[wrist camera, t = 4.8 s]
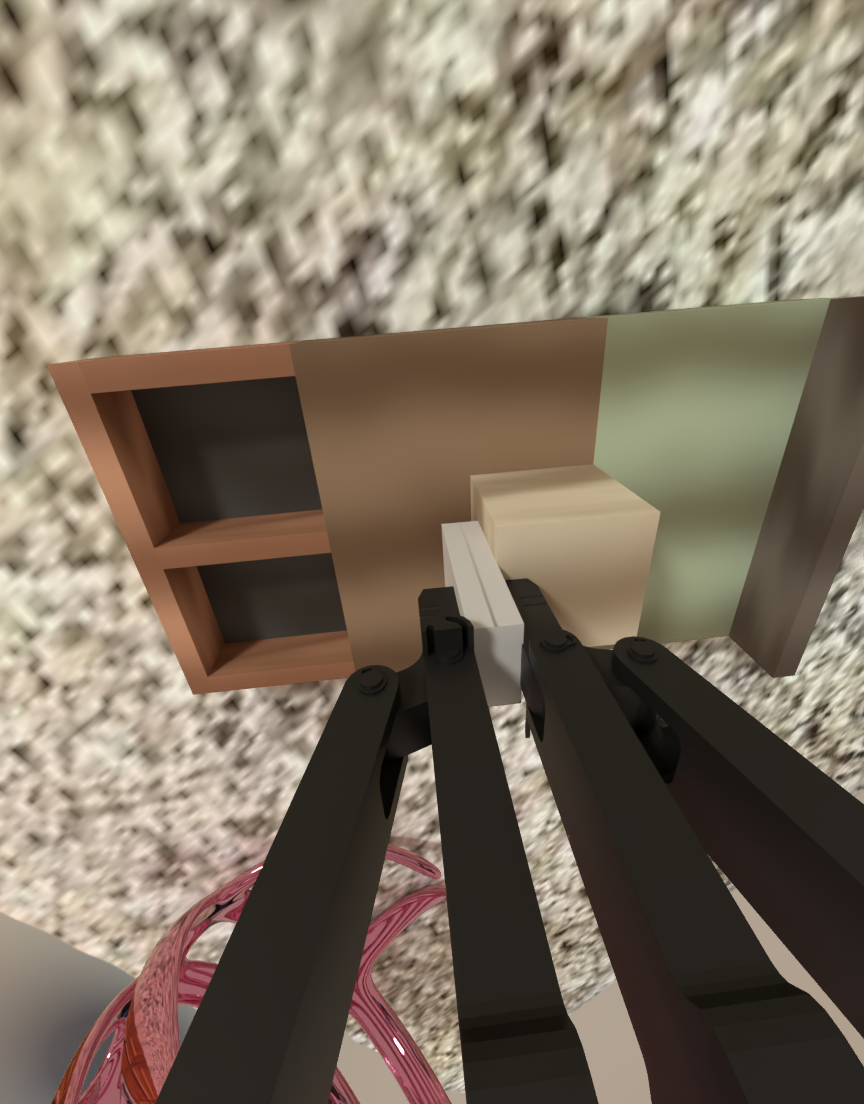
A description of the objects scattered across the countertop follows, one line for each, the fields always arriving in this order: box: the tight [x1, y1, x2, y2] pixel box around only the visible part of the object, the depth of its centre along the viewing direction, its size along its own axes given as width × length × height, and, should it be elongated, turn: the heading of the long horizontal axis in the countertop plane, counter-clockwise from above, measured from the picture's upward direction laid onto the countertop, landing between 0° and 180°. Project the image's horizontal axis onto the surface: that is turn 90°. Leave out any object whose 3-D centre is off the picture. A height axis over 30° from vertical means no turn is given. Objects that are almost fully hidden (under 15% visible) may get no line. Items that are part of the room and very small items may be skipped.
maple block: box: [470, 464, 660, 647], centre depth 17 cm, size 5×5×5 cm
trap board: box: [47, 296, 864, 695], centre depth 19 cm, size 15×28×6 cm, turn 94°
